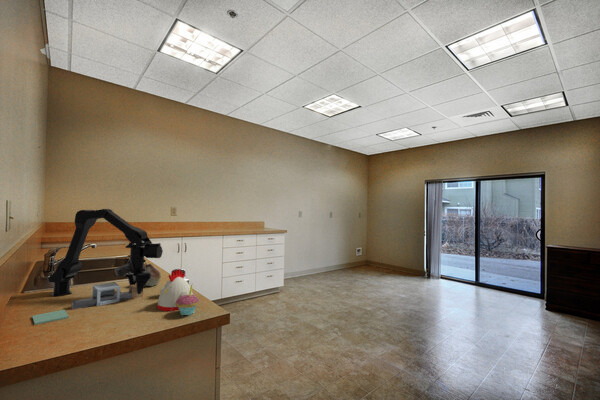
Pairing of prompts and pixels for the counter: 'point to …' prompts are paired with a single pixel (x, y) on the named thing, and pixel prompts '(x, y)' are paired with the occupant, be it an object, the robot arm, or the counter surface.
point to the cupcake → (187, 303)
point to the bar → (93, 300)
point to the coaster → (49, 317)
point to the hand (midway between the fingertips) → (135, 291)
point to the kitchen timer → (173, 291)
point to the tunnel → (106, 292)
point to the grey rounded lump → (152, 275)
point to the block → (135, 291)
